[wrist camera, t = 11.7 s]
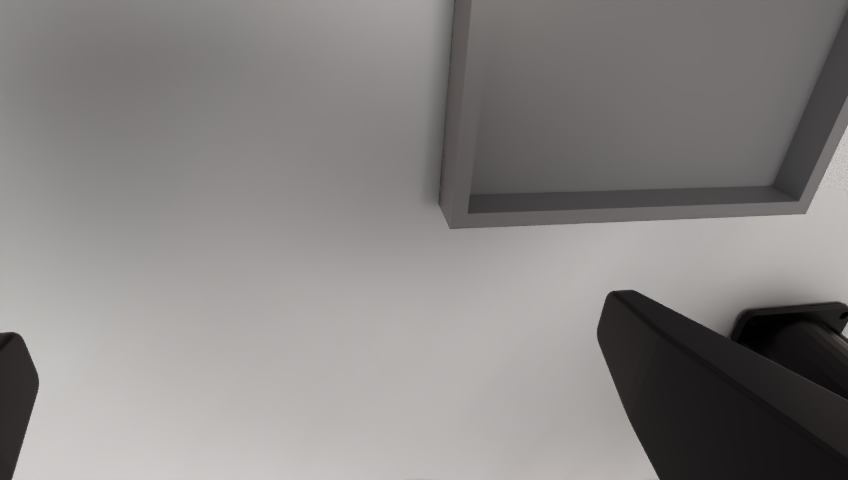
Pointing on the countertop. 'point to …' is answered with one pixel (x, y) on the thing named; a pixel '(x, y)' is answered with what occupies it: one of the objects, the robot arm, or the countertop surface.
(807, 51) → the bin
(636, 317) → the robot arm
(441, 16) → the countertop surface
